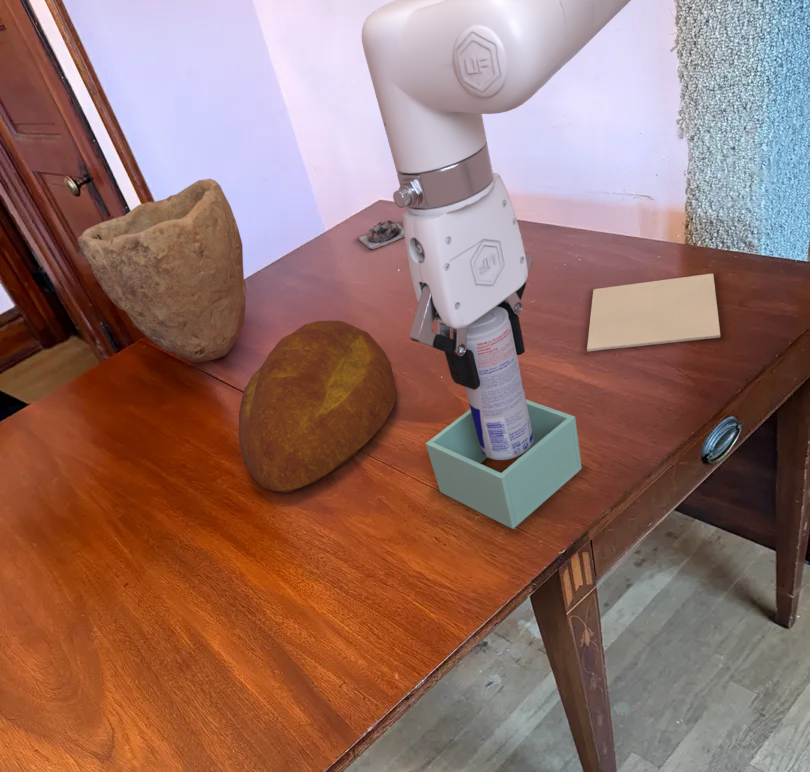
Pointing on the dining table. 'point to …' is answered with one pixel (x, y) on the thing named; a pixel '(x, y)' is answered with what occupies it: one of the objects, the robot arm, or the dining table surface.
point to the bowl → (175, 270)
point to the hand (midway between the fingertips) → (489, 366)
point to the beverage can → (498, 388)
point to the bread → (314, 404)
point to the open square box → (522, 480)
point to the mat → (654, 313)
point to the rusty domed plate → (382, 234)
